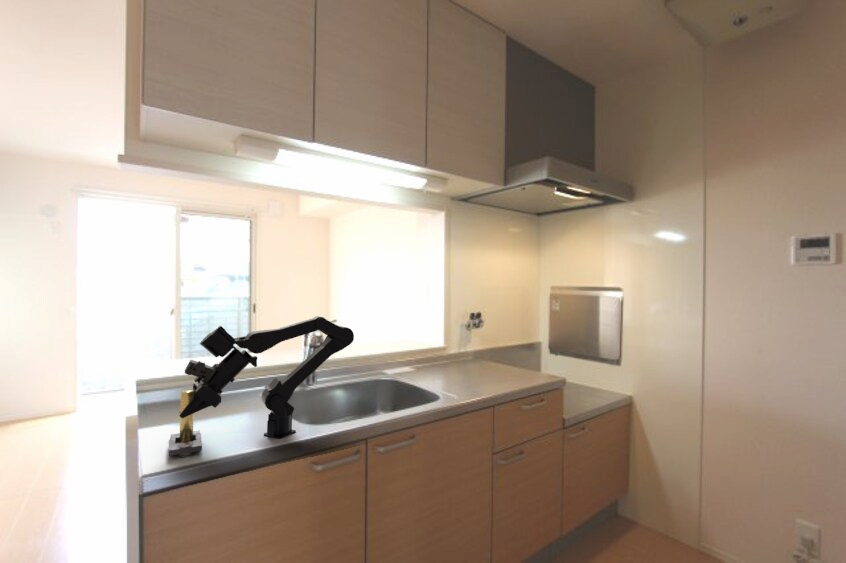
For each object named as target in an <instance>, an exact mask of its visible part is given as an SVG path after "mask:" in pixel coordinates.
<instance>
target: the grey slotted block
mask: <svg viewBox="0 0 846 563" xmlns="http://www.w3.org/2000/svg"><path fill="white" fill-rule="evenodd" d="M202 450H203V443H202V433H201V431H200V430H193V441H185V442H181V443H180V432H178V433H172V434H170V436H169V444H168V456H176V455H178V456H179V458H187V457H191V455H192V453H194V452H201V451H202Z"/></svg>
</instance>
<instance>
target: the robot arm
mask: <svg viewBox="0 0 846 563" xmlns="http://www.w3.org/2000/svg"><path fill="white" fill-rule="evenodd" d="M317 331H319V332H321V333H322V334H323V335H326V336H325V338H324V340H323V342H322V344H321V345H320V346H319V347H318V348H317V349H316V350H314V351H313V352H312V353H311V354H310V355H309V356H308V357H307V358H306V359H304V360H303V361H302V362H301V363H300V364H298V365H297V367H296V368H294V369H293V370H292V371H291V372H290V373H288V375H287V376H285V377H284V378H282V379H279V378H277V377H274V378H273V379H272V380H271V382H270V383H269V384H267V385H265V386H264V388H265V389H264V390H262V393H261V401H262V403H263V404H264V405H265V407H266V408H267V410H269V411H270V412H269V413H268V414H267V415H268V416H267V417H268V419H267V422H266V428H267V430H266V432H264V433H263V437H264V436H265V437H267V438H268V437H269V438H272V439H279V440H281V439H283V438H286V437H288V436H290V435H293V434H295V433H297V430H295V429H293V413H294V411H295V407H294V406H293V405H292V404H291V403H290V402H289V400H290V399H291V398H292V396H293V394H294V393H295V390H296V389H297V388H298V387H299V386H300V385H301V384H303V382H304V381H306V379H308V377H310V376H311V375H312V374H313V373H314V372H315V371H316V370H317V369H318V368H319V367H320V366H322V364H324V363H325V362H326V361H327V360H328V359H329V358H330V357H331V356H333V355H334V354H336V353H338V352H341V351H342V350H344V349H345V348H347V347H348V346H350V345H352V343H353V342H354V340H355V334H354V332H353V330H352V329H351V328H350V327H346V326H340V325H337V324H335V323H333V322H332V321H330V320H328V319H326V318H325V317H322V316H319V315H317V316H314V317H312V318H309V319H306V320H302V321H299V322H296V323H291V324H289V325H286V326H282V327H279V328H274V329H264V330H263V329H262V330H255V331H250V332H248V333H247V334H246V336H245V335H244V336H240V337H239V336H237V337H235V338H234V337H233V336H232V335H231V334H230V333H228V331H227V330H226V329H225V328H224V327H223V326H222V325H219V326H218V327H217V328H216V329H214V330H213V331H212V332H209V333H208V334H207V335H206V336H205V337H204V338H203V339H202V340H201V341H200V342H199V345H201V346H202V347H203V348H204V349H205V350H207V351H208V352H209V353H210V354H211V355H212V356H214V357H215V358H218V357H221V358H223V359H222V360H221V361H219V363H215V364H213V365H212V366H210V365H208V364H206V362H202V361H200V360H199V361H197V360H193V359H190V360H189V362H188V364H187V366H186V367H185V369H184V372H183V373H184V374H186V375H188V376H194V377H195V378H194V380H193V382H195V383H197V384H195V383H193V384H192V390H193V398H192V399H191V401H190V402H189V403H188V405H187V406H186V407H185V408H184V410H183V411H182V412H181V414H180V413H179V418H180V417H181V418H184V417H187V416H189V415H191V414H193V413H194V414H195V413H197V412H199V411H202V410H204V409H207V408H209V407H213V408H217V407H218V406H219V405H220V404H221V403H222V395H221V394H222V393H223V390H224V389H225V388H226V387H228V385H229V384H230V383H233V382H235V381H236V380H235V378H236V377H237V376H238V375H239V374H240V373H241V372H242V371H243V370H244V369H246V367H247V366H248V365H249V364H251V365H252V367H254V368H257V367H258V357H257V355H258V354H261V353H264V352H265V351H268V350H270V349H272V348H273V347H275V346H277V345H278V344H280V343H282V342H285V341H288V340H292V339H295V338H298V337H301V336H304V335H307V334H310V333H314V332H317ZM235 345H236V346H237V347H238V348H240V349H243V350H242V351H241V350H239V349H238V348H237V347H236V346H235ZM245 349H246V350H248V351H249V352H250V353H253V354H257V355H253V356H252V354H250V353H249V352H248V351H246V350H245Z"/></svg>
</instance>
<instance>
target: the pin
mask: <svg viewBox="0 0 846 563" xmlns="http://www.w3.org/2000/svg"><path fill="white" fill-rule="evenodd" d="M192 398H193V389H191V390H182V391H181V392H180V408H179V409H180V410H179V415H180V414H181V412H182V411H183V410H184V408H185V407H186V406H187V405H188V403H189V402H190V401H191V399H192ZM194 414H195V413H193V414H191V415H189V416H187V417H184V418H181V417H180V416H179V433H180V443H181V442H185V441H193V431H194V418H195V416H194Z"/></svg>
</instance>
